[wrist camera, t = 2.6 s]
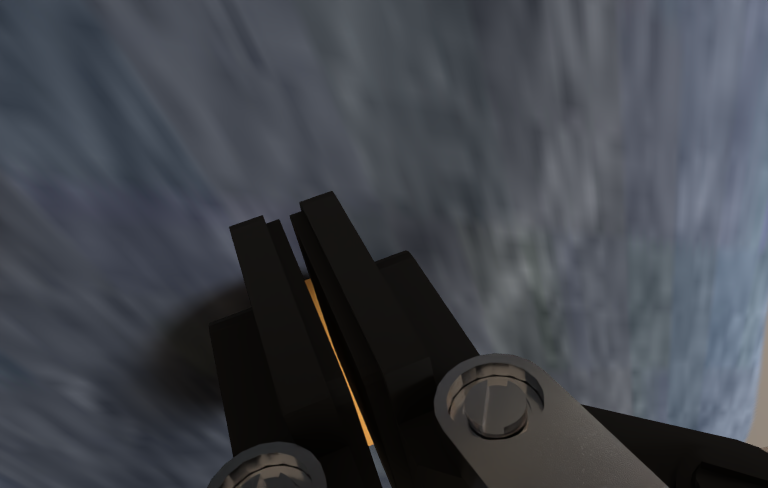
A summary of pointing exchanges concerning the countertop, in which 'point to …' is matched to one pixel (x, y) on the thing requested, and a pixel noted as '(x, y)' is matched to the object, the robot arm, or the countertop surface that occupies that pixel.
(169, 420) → the countertop surface
